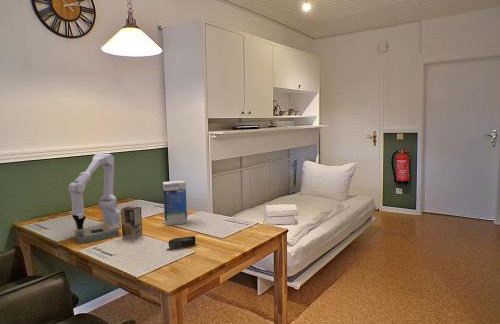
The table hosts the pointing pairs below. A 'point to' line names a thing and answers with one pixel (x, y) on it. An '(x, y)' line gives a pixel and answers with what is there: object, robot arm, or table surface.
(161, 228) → the table surface
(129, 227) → the coffee box
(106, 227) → the port cover
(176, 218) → the string lights box
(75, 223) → the cream can
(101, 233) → the grey flat block
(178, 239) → the mobile phone
